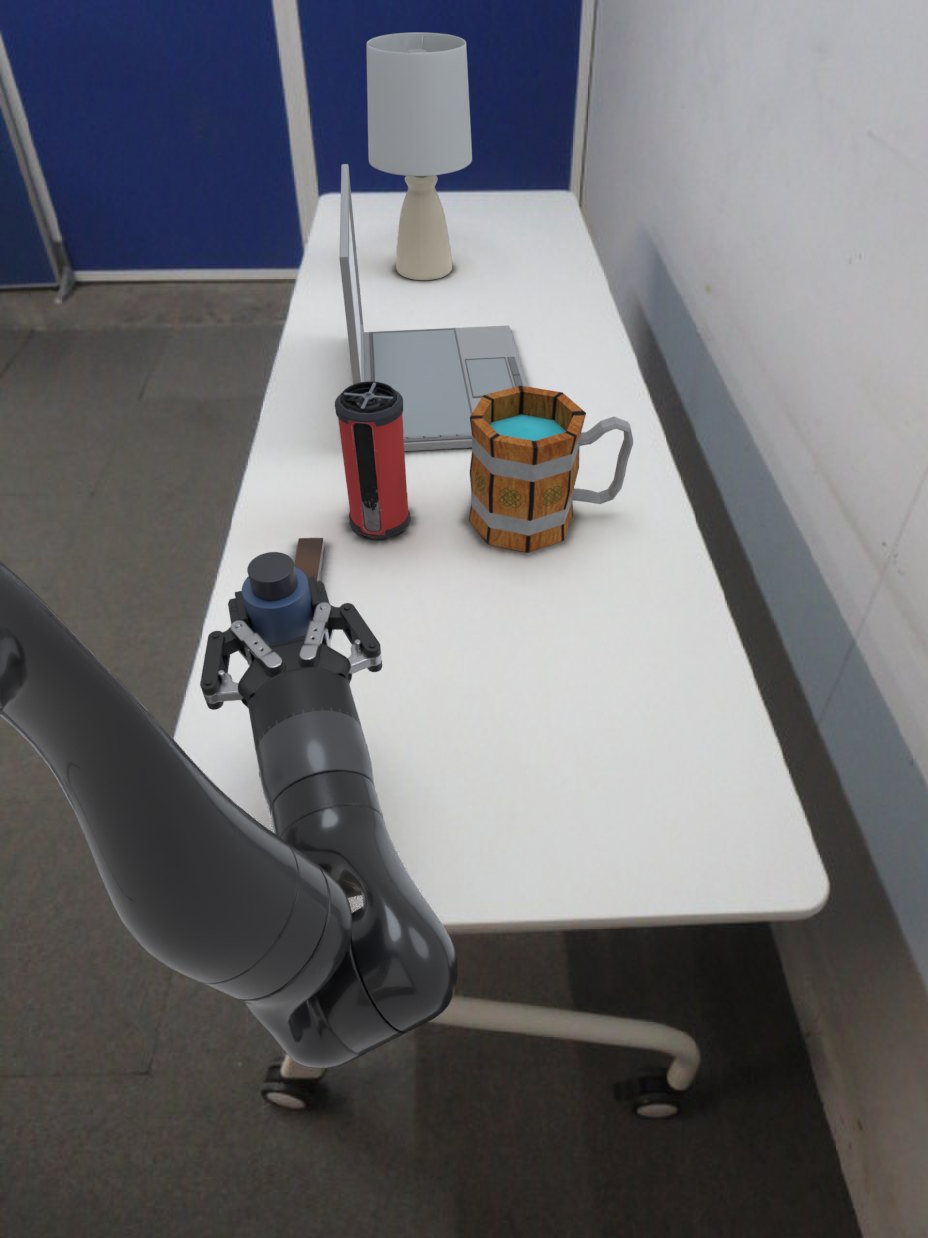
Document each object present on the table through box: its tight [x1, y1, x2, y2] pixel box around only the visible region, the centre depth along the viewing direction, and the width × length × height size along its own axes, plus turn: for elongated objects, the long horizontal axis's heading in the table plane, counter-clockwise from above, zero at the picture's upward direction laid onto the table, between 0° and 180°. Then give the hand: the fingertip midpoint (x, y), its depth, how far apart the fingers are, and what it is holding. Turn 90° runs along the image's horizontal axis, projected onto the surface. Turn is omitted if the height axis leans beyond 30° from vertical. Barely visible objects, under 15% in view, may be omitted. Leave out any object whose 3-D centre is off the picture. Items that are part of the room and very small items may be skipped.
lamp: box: [366, 32, 473, 281], centre depth 145 cm, size 19×19×37 cm
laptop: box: [338, 163, 529, 452], centre depth 116 cm, size 35×26×27 cm
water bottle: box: [241, 551, 314, 644], centre depth 66 cm, size 5×5×12 cm
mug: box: [468, 386, 634, 553], centre depth 98 cm, size 20×14×15 cm
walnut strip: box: [294, 537, 326, 582], centre depth 92 cm, size 18×3×2 cm, turn 2°
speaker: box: [334, 381, 411, 539], centre depth 96 cm, size 8×8×18 cm
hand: (275, 591), depth 67 cm, fingers closed on water bottle, 5 cm apart
